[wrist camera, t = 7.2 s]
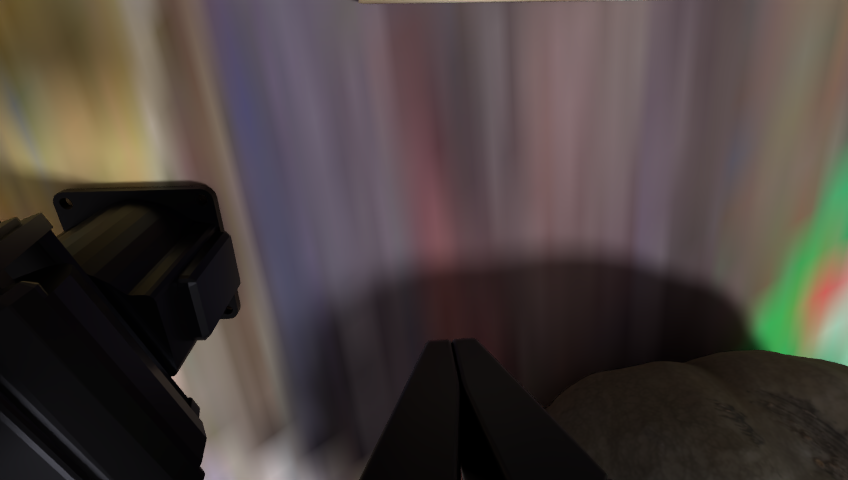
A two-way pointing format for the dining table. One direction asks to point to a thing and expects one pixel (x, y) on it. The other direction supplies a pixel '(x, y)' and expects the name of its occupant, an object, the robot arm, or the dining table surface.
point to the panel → (465, 1)
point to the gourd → (713, 418)
